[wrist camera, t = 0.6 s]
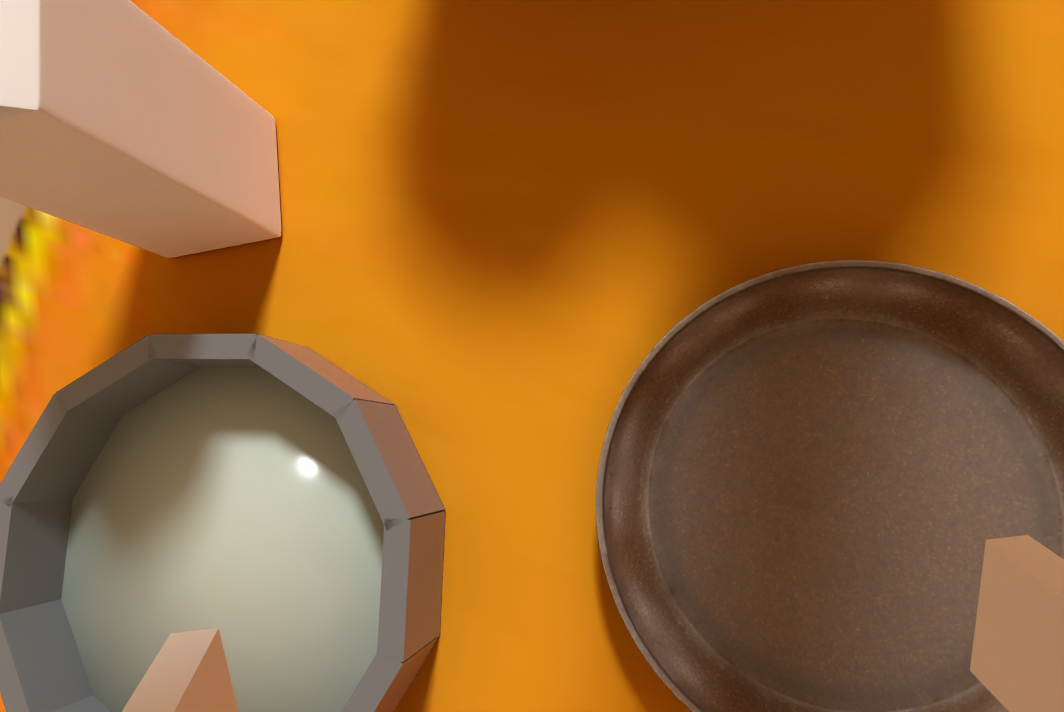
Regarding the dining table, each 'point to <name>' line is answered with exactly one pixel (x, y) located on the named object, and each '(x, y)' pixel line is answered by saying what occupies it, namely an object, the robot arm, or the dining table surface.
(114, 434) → the bowl
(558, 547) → the dining table surface
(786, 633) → the plant saucer
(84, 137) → the milk carton
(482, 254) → the dining table surface
